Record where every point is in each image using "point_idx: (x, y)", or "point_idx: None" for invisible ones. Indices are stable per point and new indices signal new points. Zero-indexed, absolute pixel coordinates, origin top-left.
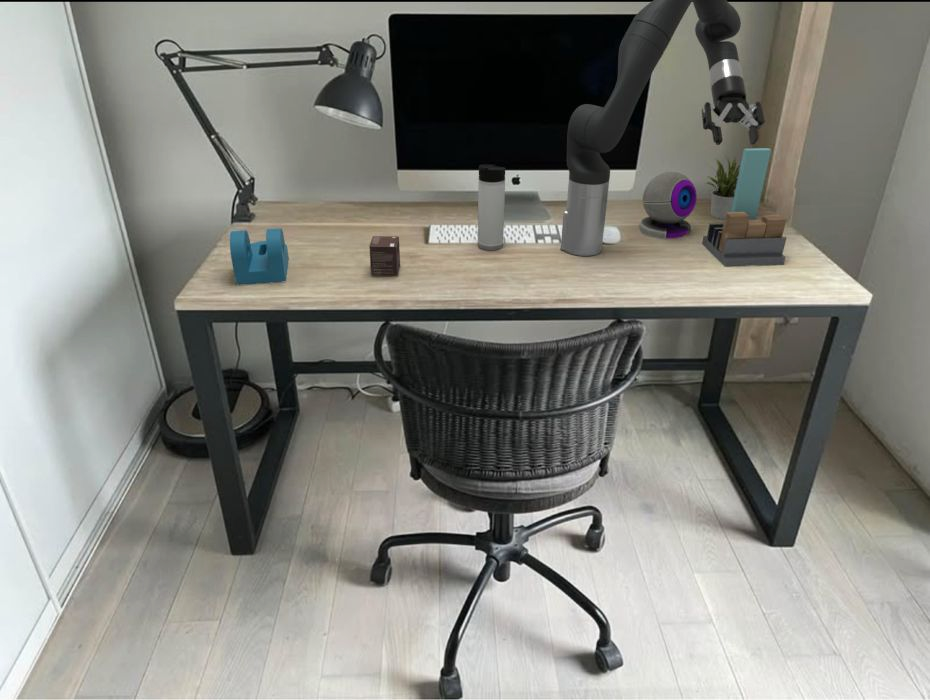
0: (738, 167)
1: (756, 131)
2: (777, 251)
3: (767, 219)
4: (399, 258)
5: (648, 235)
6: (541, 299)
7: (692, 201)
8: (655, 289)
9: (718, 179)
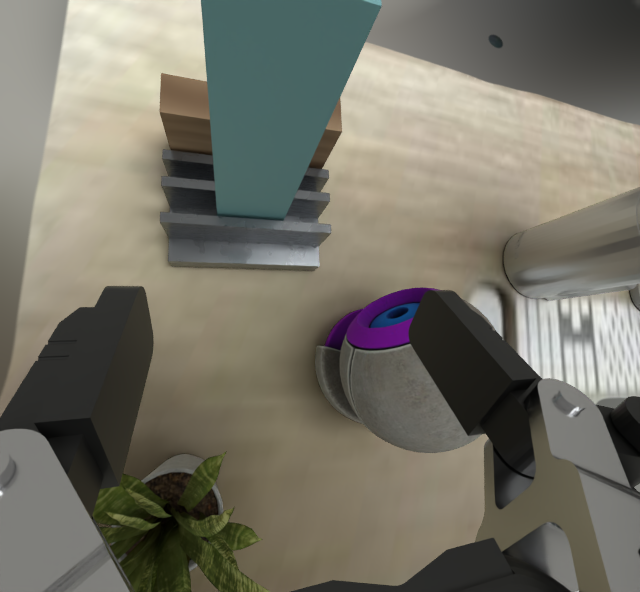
0: None
1: (49, 380)
2: None
3: None
4: None
5: None
6: (576, 108)
7: (364, 325)
8: (446, 96)
9: (190, 584)
